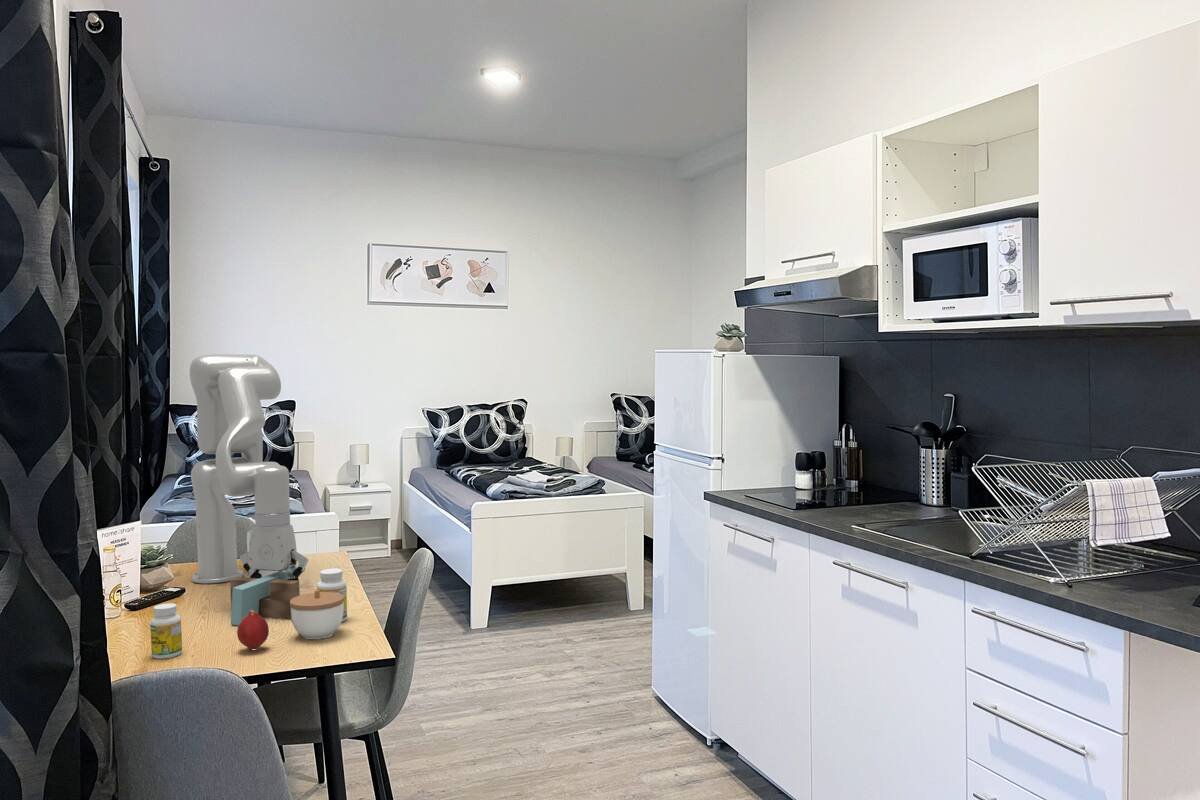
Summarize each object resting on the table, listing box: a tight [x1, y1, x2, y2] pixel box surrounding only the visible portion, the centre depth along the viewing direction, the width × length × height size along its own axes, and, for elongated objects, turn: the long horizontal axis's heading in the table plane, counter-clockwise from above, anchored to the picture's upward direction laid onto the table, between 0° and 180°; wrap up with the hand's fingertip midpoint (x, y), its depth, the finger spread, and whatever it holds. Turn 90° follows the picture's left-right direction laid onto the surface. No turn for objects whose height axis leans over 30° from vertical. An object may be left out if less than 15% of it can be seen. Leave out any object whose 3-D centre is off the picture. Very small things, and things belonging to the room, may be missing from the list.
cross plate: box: [230, 571, 289, 626], centre depth 197 cm, size 16×2×8 cm, turn 163°
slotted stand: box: [229, 576, 301, 620], centre depth 197 cm, size 16×2×8 cm, turn 75°
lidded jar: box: [290, 589, 344, 640], centre depth 182 cm, size 11×11×9 cm
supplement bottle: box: [149, 603, 183, 660], centre depth 171 cm, size 5×5×10 cm
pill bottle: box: [316, 568, 348, 623], centre depth 193 cm, size 6×6×11 cm
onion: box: [236, 610, 270, 650], centre depth 173 cm, size 6×6×8 cm
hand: (274, 593), depth 203 cm, fingers open, 9 cm apart
